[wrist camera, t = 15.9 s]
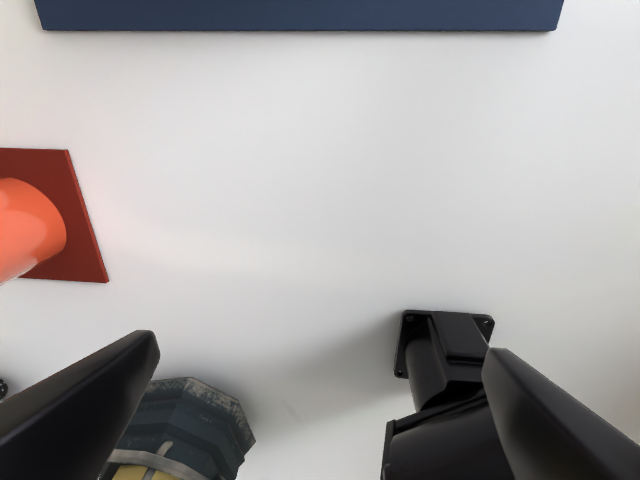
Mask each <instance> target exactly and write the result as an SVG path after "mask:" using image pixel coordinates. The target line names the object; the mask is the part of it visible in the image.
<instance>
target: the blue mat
mask: <svg viewBox="0 0 640 480" xmlns="http://www.w3.org/2000/svg"><path fill="white" fill-rule="evenodd" d="M34 2H35V5H36V8H37V12H38V15H39V18H40V22H41V25H42V28H43V30H47V31H554V30H556V28H557V24H558V20H559V17H560V13H561V10H562V6H563V2H564V0H34Z"/></svg>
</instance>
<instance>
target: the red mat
mask: <svg viewBox="0 0 640 480" xmlns="http://www.w3.org/2000/svg"><path fill="white" fill-rule="evenodd" d="M0 177H10V178H15V179H18V180H21V181H24V182H26V183H28V184H30V185H32V186H33V187H35V188H36V189H38V190H39V191H41V192H42V193H43V194H44V195H45V196H46V197H47V198H48V199H49V200H50V201H51V202H52V203H53V204H54V205H55V207H56V208H57V210H58V211H59V213H60V215H61V217H62V218H63V221H64V224H65V227H66V233H67V239H66V244H65V247H64V249H63V250H62V252H61V253H60V254H59V255H57V256H56V257H54V258H52V259H51V260H49V261H47V262H45V263H43V264H41V265H39V266H37V267H36V268H34V269H32V270H30V271H28V272H26V273H24V274H22V275H21V276H19V277H17V278H33V279H49V280H65V281H81V282H97V283H107V282H109V280H108V276H107V273H106V270H105V267H104V264H103V260H102V257H101V254H100V251H99V248H98V245H97V241H96V238H95V235H94V232H93V229H92V225H91V222H90V219H89V216H88V213H87V210H86V206H85V203H84V200H83V197H82V194H81V190H80V187H79V184H78V181H77V178H76V174H75V171H74V168H73V165H72V162H71V159H70V155H69V152H68V150H55V149H22V148H0Z"/></svg>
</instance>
